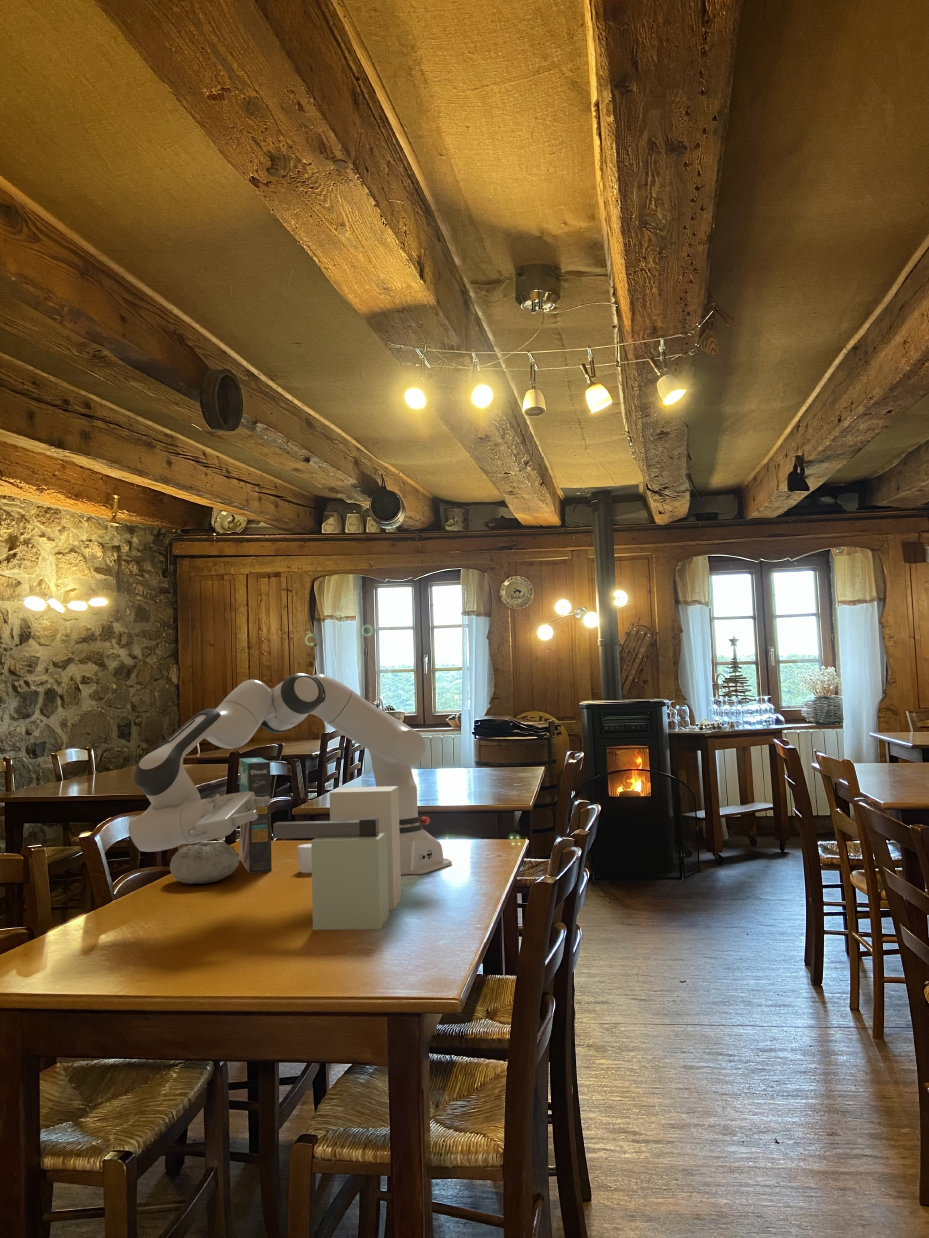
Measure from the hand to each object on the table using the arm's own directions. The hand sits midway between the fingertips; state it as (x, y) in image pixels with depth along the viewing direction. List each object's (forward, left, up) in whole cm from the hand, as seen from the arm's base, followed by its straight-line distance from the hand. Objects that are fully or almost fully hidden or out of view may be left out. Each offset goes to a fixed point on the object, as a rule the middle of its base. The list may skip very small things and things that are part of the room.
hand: (263, 807), depth 189 cm
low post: (-11, +16, -24) cm, 31 cm away
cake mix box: (-34, -59, -24) cm, 72 cm away
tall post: (-24, +5, -24) cm, 34 cm away
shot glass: (-39, -39, -24) cm, 60 cm away
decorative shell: (-14, -51, -24) cm, 58 cm away
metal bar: (-8, +12, -6) cm, 15 cm away
